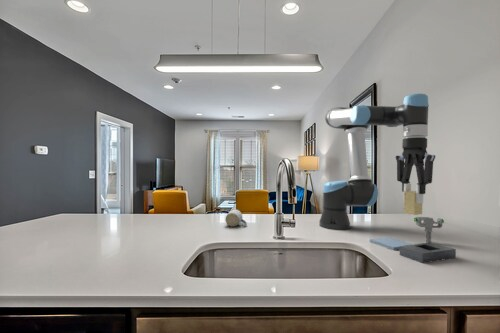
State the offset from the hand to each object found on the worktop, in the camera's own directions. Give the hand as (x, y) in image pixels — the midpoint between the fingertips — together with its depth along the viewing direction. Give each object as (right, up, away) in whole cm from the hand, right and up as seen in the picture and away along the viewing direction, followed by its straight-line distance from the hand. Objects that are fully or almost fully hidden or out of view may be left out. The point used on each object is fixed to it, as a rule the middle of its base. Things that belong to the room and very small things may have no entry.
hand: (413, 201), depth 91 cm
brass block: (0, -4, 0) cm, 4 cm away
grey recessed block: (+1, -18, -5) cm, 19 cm away
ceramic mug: (-66, -17, +36) cm, 78 cm away
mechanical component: (+14, -18, +12) cm, 26 cm away
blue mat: (-3, -18, +8) cm, 20 cm away
